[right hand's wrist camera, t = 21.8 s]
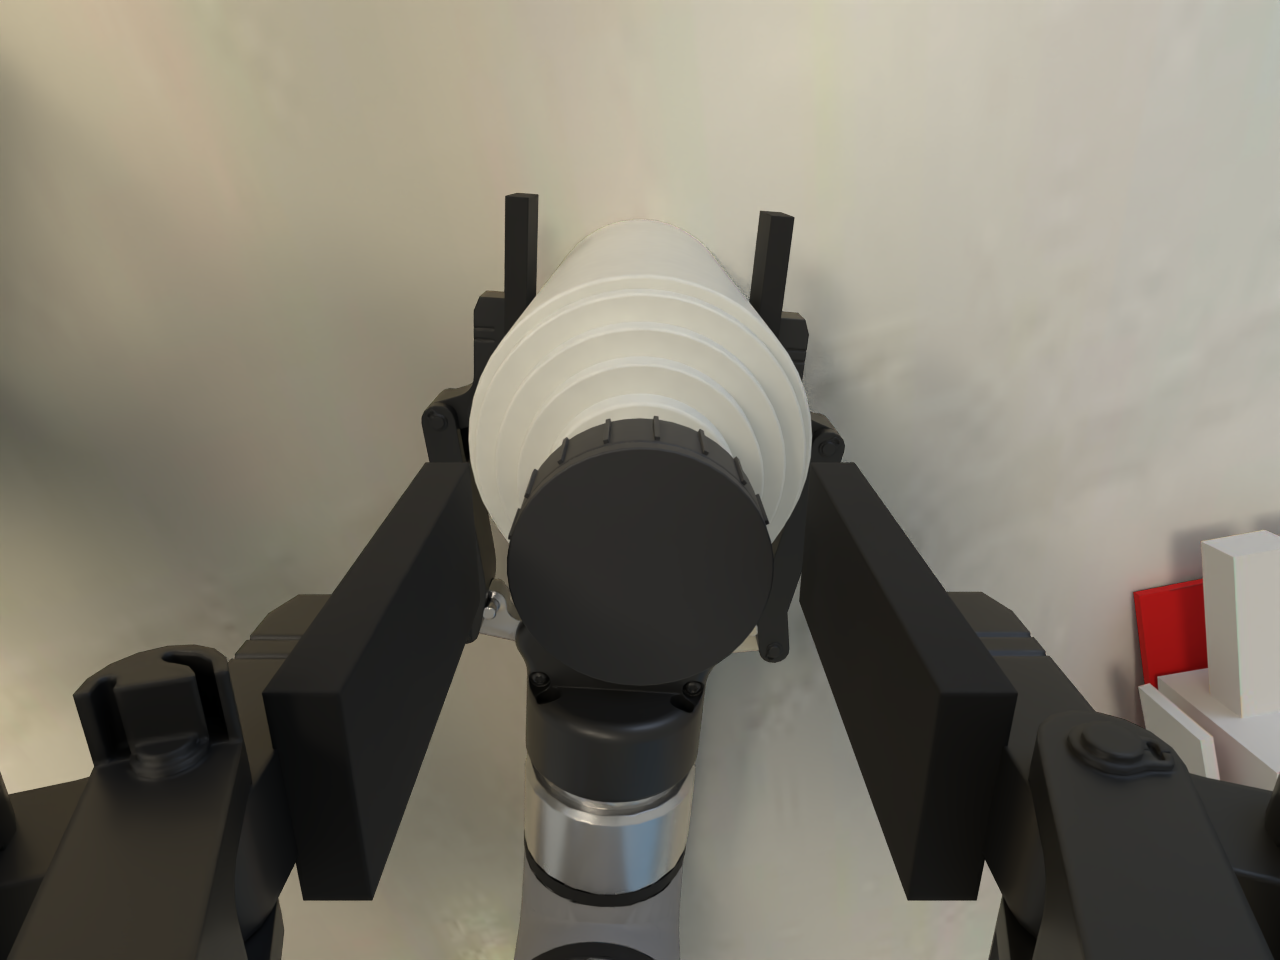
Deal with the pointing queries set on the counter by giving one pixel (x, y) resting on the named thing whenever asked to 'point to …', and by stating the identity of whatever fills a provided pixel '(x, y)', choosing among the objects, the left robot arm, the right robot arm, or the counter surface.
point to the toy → (1217, 661)
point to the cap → (640, 553)
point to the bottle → (640, 367)
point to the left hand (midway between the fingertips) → (649, 205)
